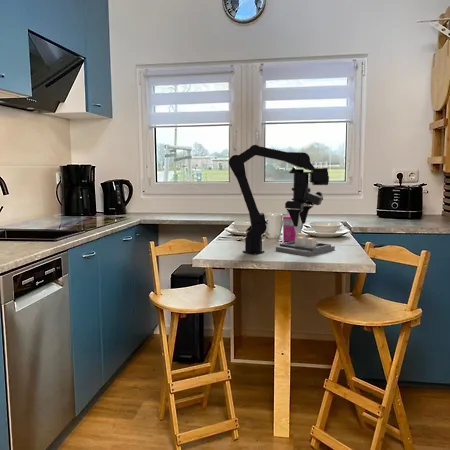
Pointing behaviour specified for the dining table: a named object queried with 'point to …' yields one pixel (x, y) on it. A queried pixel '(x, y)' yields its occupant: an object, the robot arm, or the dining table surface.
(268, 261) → the dining table surface
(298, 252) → the switch bank
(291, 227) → the supplement box
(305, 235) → the switch tab
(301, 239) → the switch tab
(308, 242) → the switch tab
